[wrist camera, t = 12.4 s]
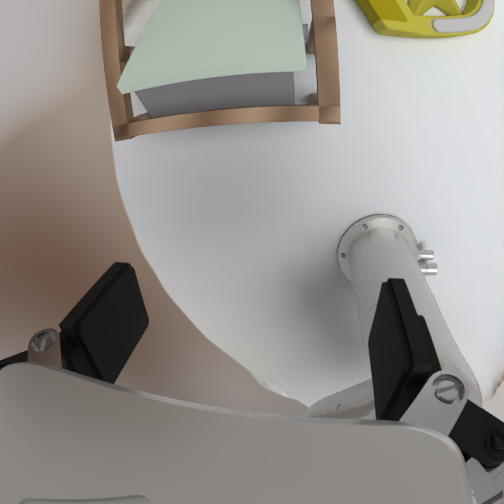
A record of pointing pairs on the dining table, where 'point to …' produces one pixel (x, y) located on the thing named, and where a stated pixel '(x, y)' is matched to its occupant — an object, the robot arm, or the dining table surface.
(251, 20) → the pale green flat block
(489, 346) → the dining table surface
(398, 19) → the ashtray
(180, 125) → the frame
